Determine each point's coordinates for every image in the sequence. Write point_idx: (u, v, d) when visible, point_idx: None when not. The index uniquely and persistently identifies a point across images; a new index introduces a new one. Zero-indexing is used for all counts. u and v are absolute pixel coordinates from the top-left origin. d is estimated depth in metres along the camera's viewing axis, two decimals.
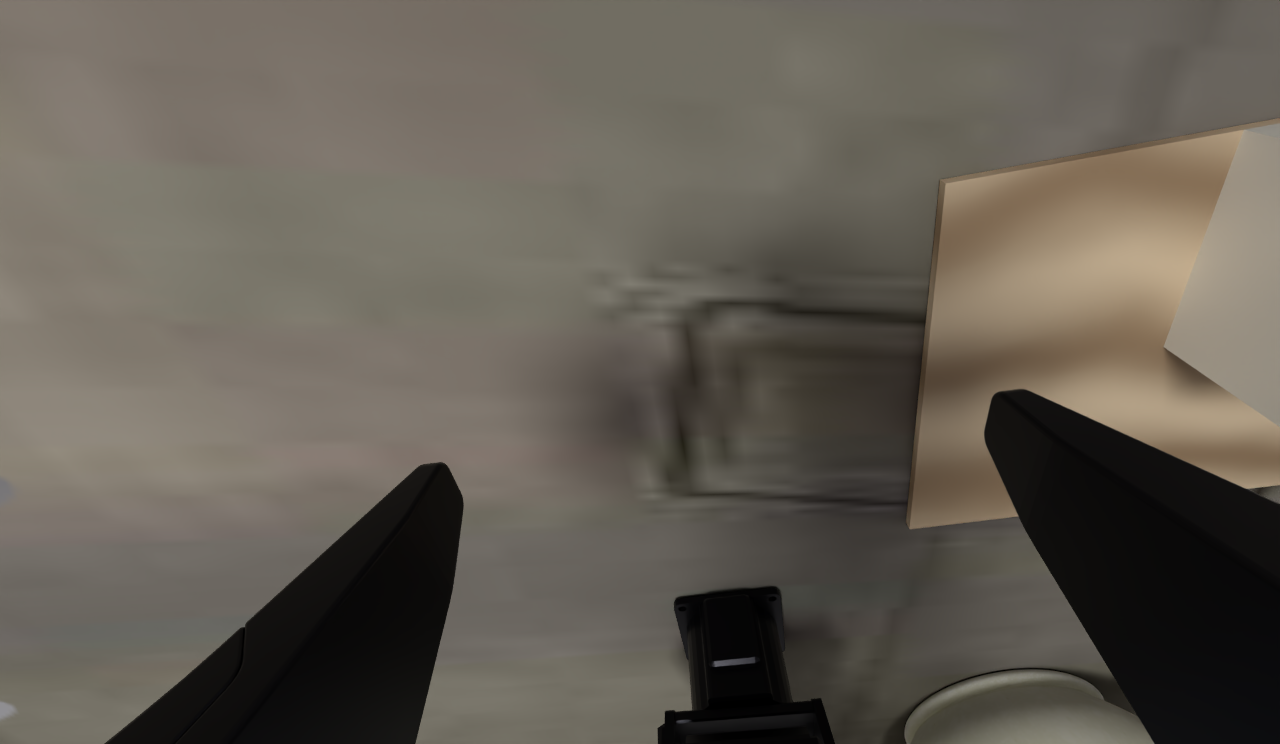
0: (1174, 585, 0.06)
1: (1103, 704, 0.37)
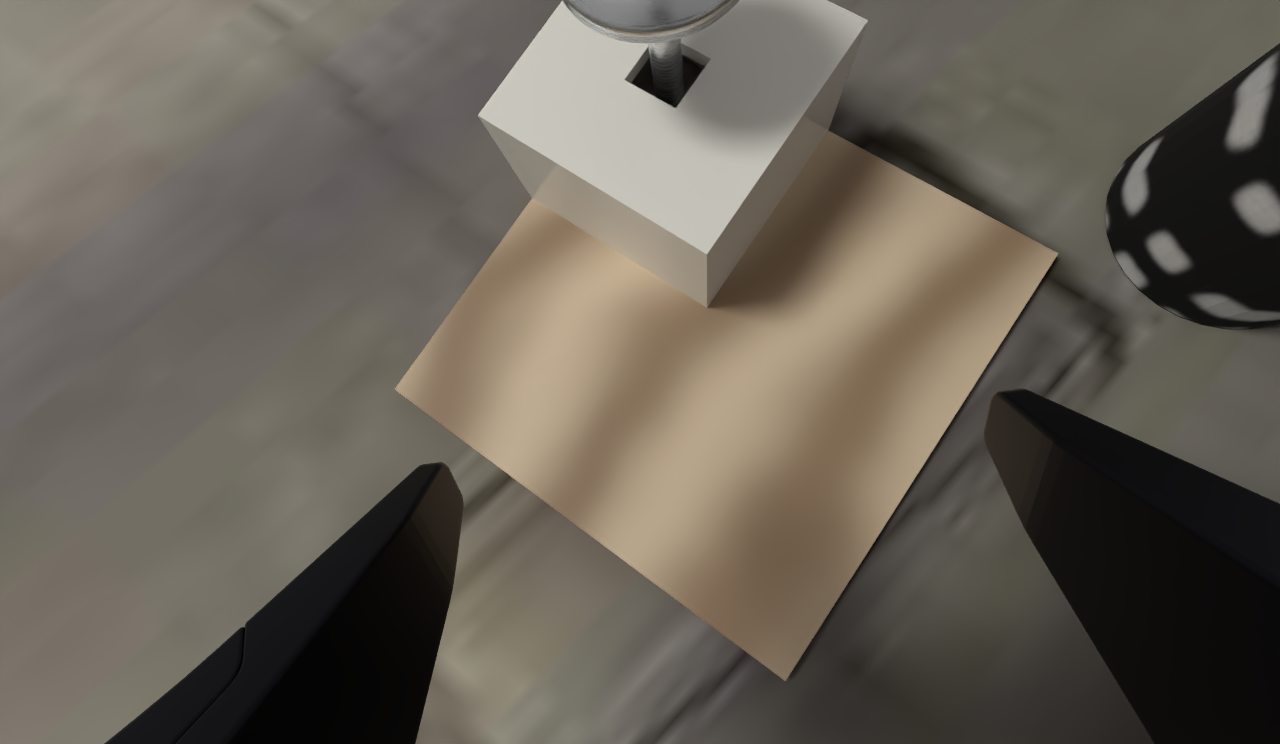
0: (1174, 585, 0.06)
1: None
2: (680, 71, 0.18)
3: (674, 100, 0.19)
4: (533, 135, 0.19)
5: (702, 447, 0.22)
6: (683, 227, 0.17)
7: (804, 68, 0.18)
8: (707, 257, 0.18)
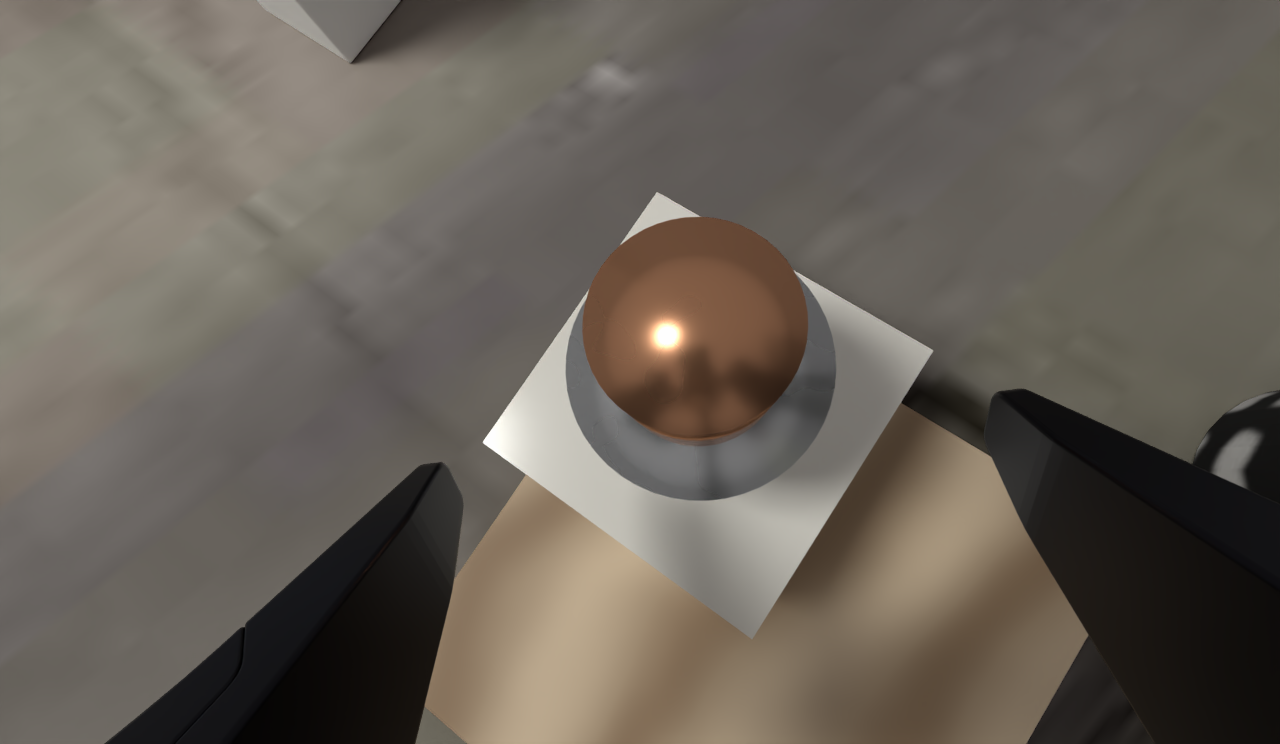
0: (1174, 585, 0.06)
1: None
2: None
3: None
4: (546, 472, 0.16)
5: None
6: (723, 602, 0.15)
7: (860, 406, 0.15)
8: None
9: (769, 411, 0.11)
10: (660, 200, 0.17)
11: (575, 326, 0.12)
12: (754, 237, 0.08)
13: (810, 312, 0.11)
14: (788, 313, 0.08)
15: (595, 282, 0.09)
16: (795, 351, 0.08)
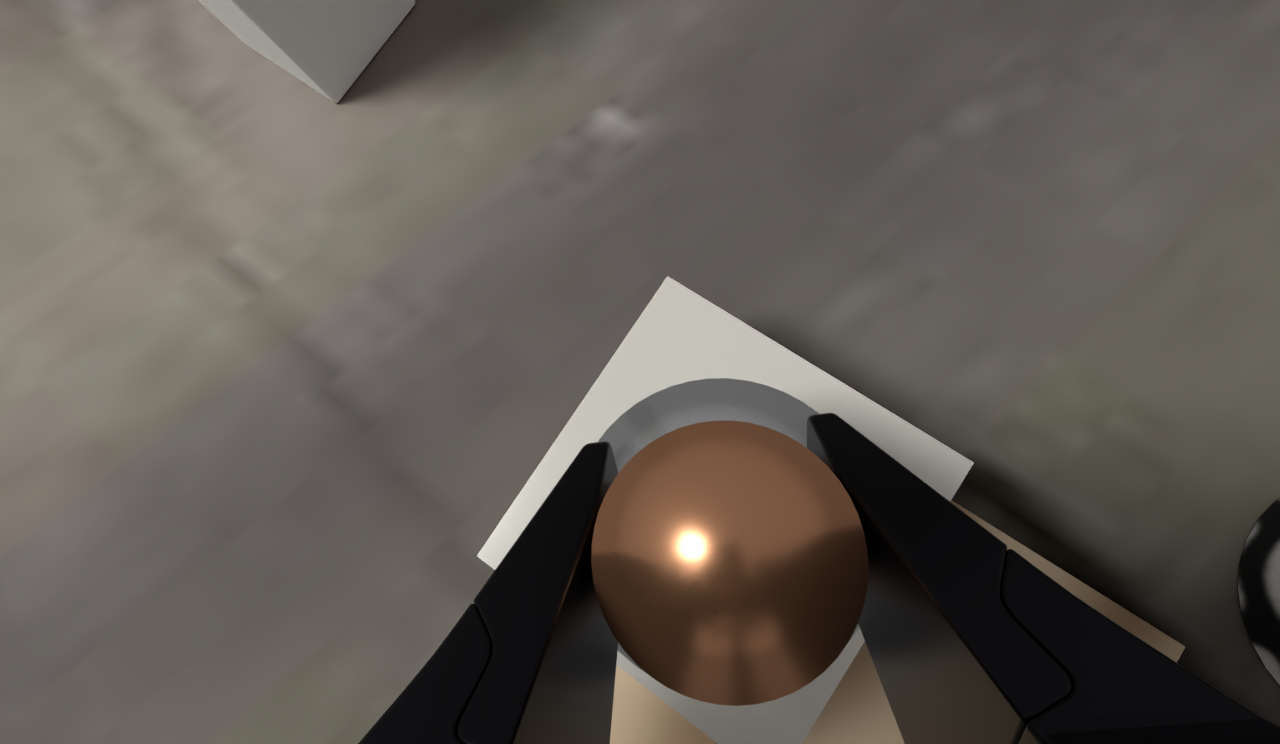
0: (902, 611, 0.06)
1: None
2: None
3: None
4: None
5: None
6: None
7: None
8: None
9: None
10: (671, 285, 0.16)
11: None
12: (800, 450, 0.07)
13: None
14: (843, 551, 0.07)
15: (606, 496, 0.07)
16: (853, 603, 0.06)
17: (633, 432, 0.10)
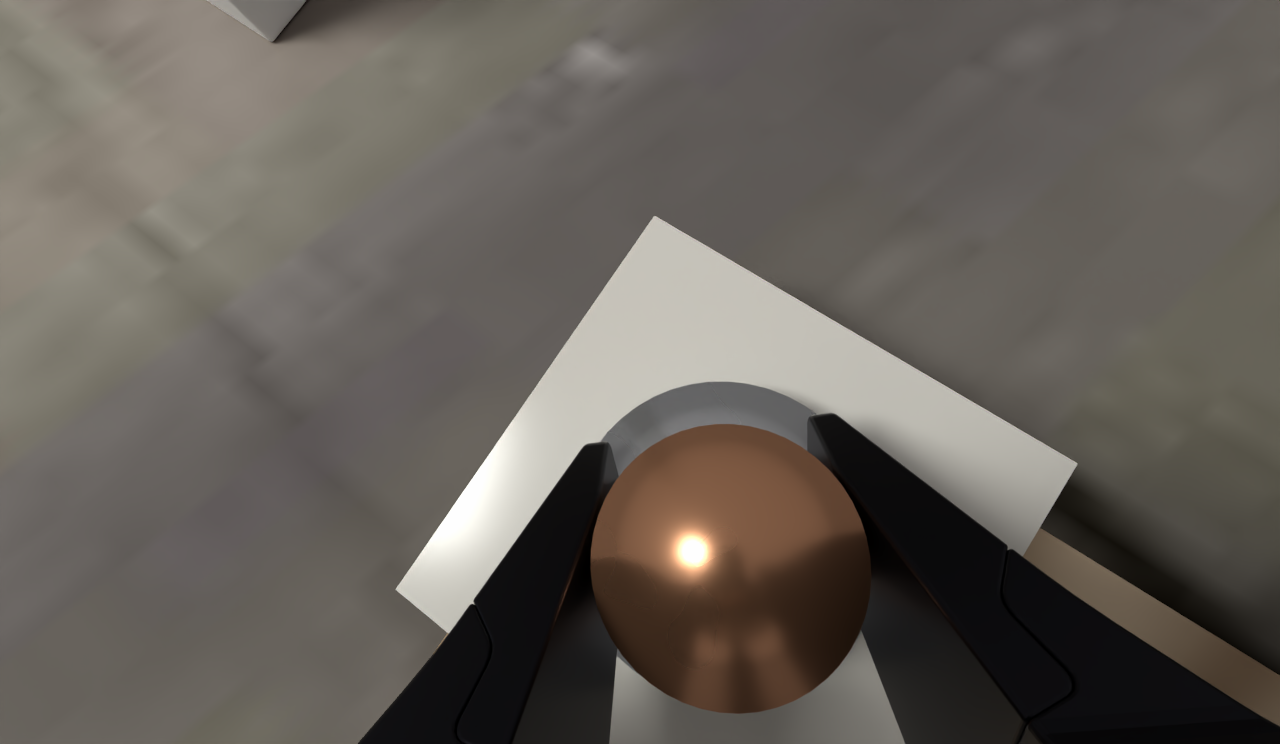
0: (902, 611, 0.06)
1: None
2: None
3: None
4: None
5: None
6: None
7: None
8: None
9: None
10: (659, 228, 0.12)
11: None
12: (802, 454, 0.07)
13: None
14: (846, 557, 0.06)
15: (605, 500, 0.07)
16: (856, 609, 0.06)
17: (633, 436, 0.10)
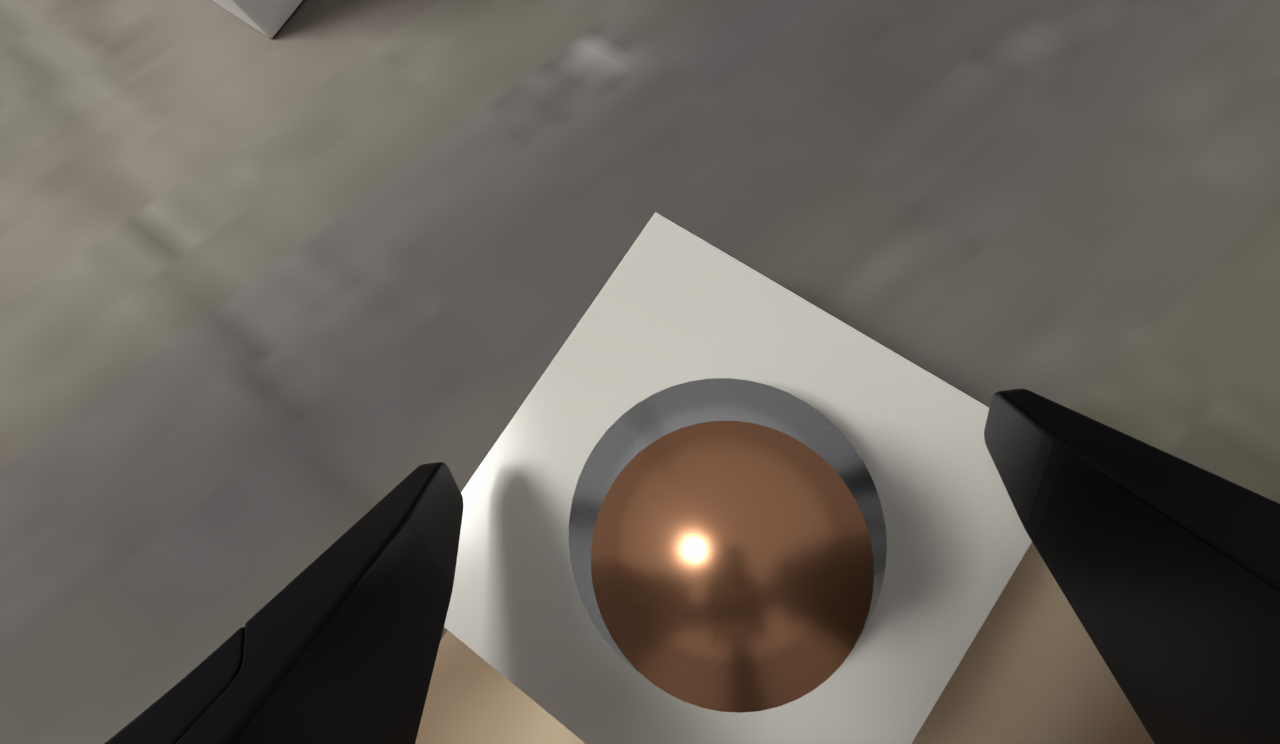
0: (1174, 585, 0.06)
1: None
2: None
3: None
4: (489, 636, 0.11)
5: None
6: None
7: (968, 548, 0.10)
8: None
9: None
10: (660, 224, 0.12)
11: (580, 483, 0.10)
12: (804, 451, 0.07)
13: (855, 476, 0.09)
14: (848, 555, 0.06)
15: (606, 497, 0.07)
16: (858, 607, 0.06)
17: (633, 433, 0.10)
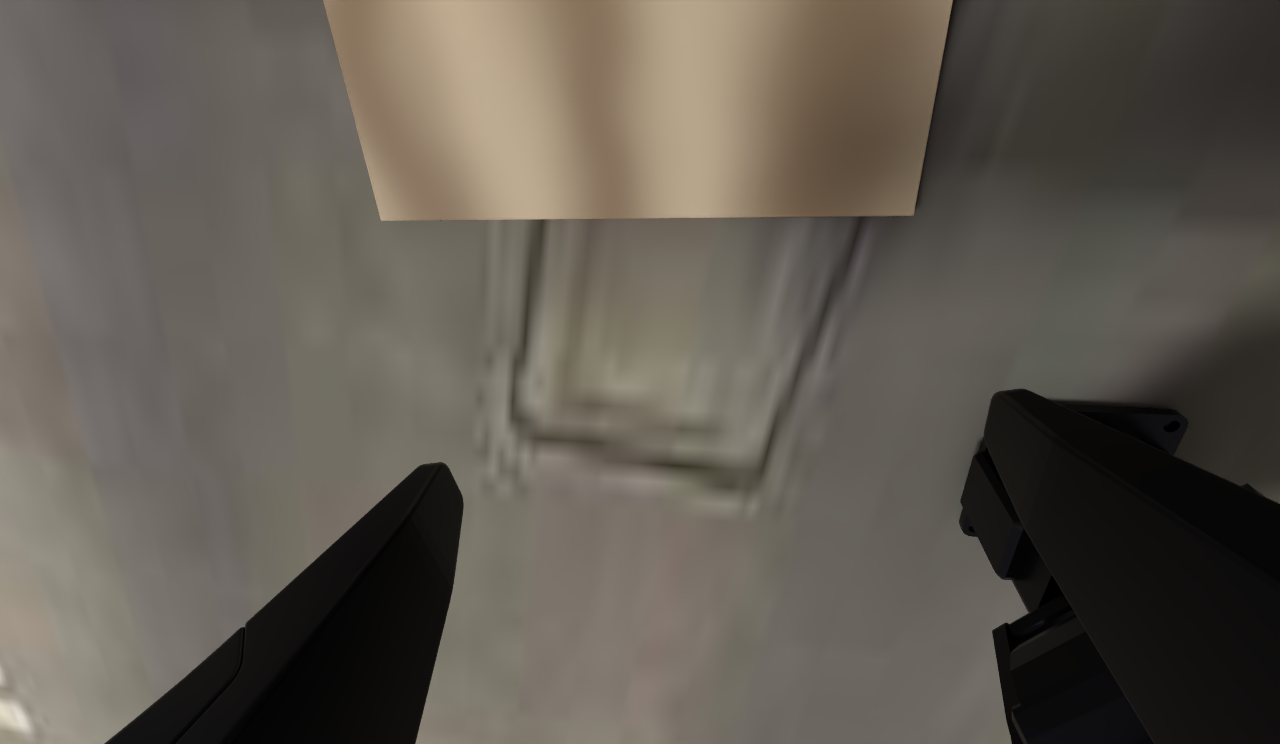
0: (1174, 585, 0.06)
1: None
2: None
3: None
4: None
5: (698, 43, 0.17)
6: None
7: None
8: None
9: None
10: None
11: None
12: None
13: None
14: None
15: None
16: None
17: None
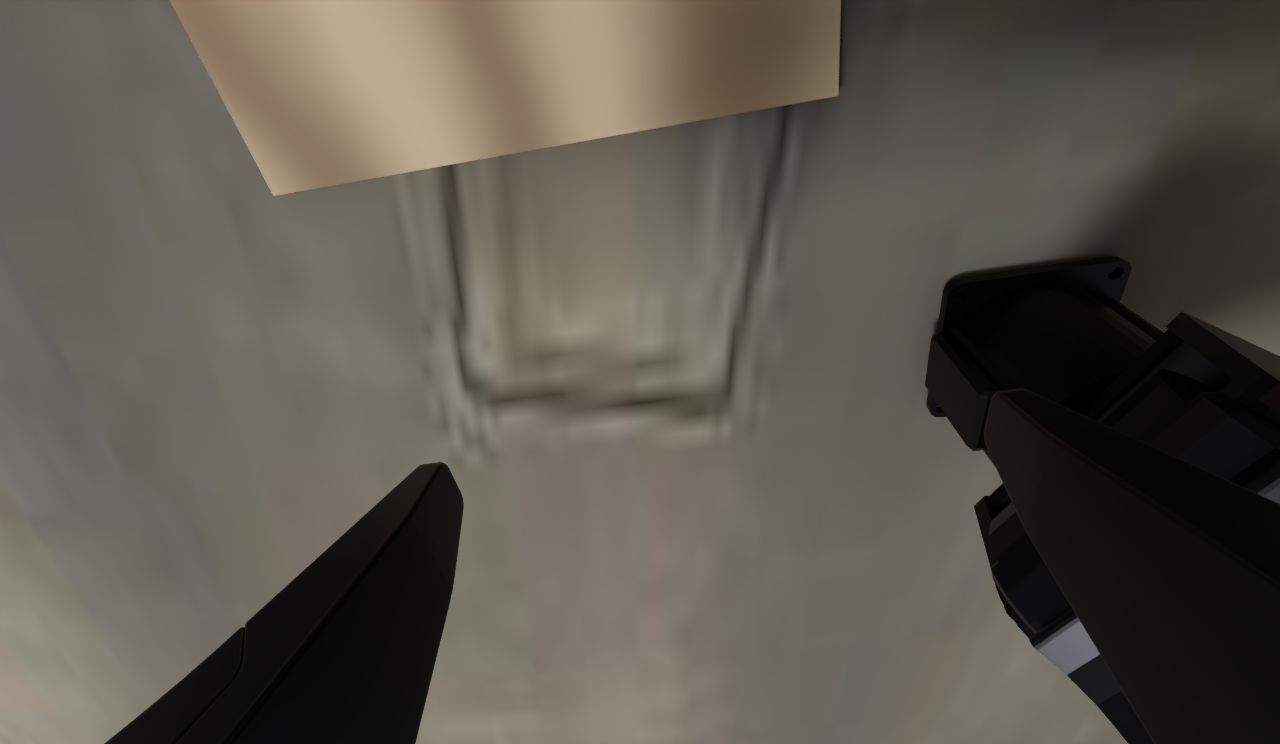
0: (1174, 585, 0.06)
1: None
2: None
3: None
4: None
5: None
6: None
7: None
8: None
9: None
10: None
11: None
12: None
13: None
14: None
15: None
16: None
17: None
